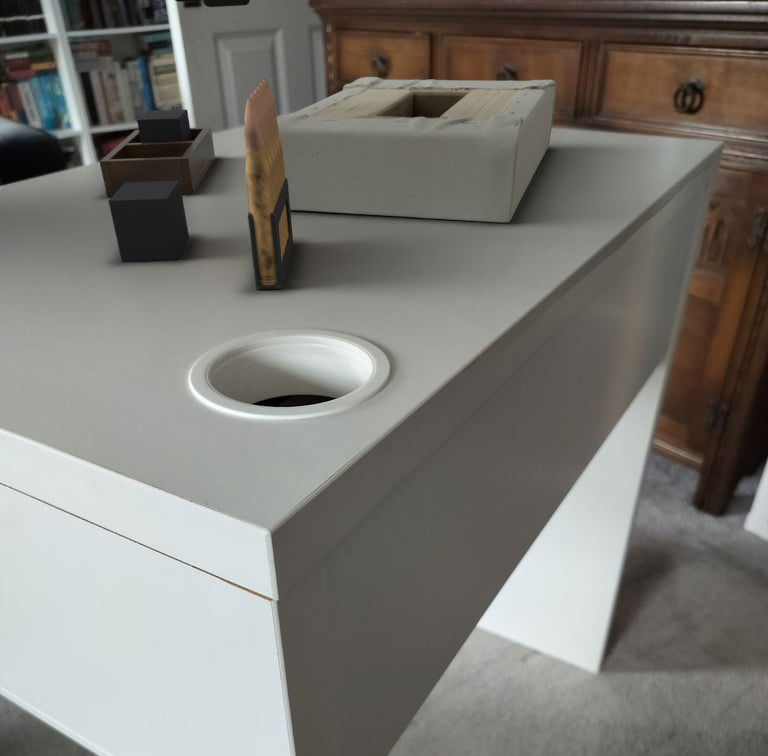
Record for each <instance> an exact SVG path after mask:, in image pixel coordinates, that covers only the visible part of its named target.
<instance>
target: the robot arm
mask: <svg viewBox="0 0 768 756" xmlns="http://www.w3.org/2000/svg"><path fill="white" fill-rule="evenodd" d="M174 1H176V2H180V3H181V2H198V1H199V2H200V1H201V2H202V4H203V5H204V6H206V7H208V8H220V7H221V8H222V7H240V6H241V7H242V6H248V5H249V3H250V1H251V0H174Z"/></svg>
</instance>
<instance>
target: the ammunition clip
mask: <svg viewBox="0 0 768 756" xmlns="http://www.w3.org/2000/svg"><path fill="white" fill-rule="evenodd" d="M276 109H277V108H276V104H275V100H274V95H273V92H272V89H271V86H270V83H269V81H268V79H266V78H263V79H262V80H261V81H260V82H259V84H258V85H257V86H256V88H255V89H254V90H253V92H252V93H250V96H249V97H248V98H247V100H246V104H245V109H244V119H243V120H244V121H243V125H244V127H243V129H244V130H243V131H244V144H245V148H244V149H245V161H246V162H245V181H246V189H247V198H248V207H249V211H248V214H247V221H248V222H247V223H248V229H249V239H250V247H251V248H250V249H251V257H252V267H253V275H254V282H255V290H256V291H259V290H260V291H261V290H283V288H284V285H285V280H286V276H287V272H288V267H289V263H290V259H291V257H292V256H291V255H292V251H293V248H294V236H293V235H294V234H293V225H292V224H293V223H292V214H291V213H292V212H291V210H290V201H289V190H288V179H287V178H285V170H284V160H283V150H282V143H281V139H280V135H279V130H278V122H277V117H278V116H277V110H276Z"/></svg>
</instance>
